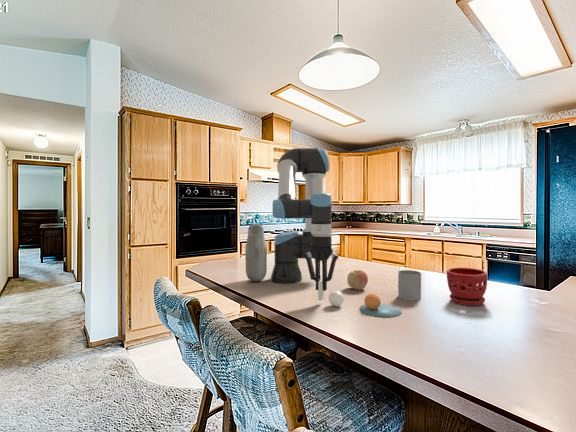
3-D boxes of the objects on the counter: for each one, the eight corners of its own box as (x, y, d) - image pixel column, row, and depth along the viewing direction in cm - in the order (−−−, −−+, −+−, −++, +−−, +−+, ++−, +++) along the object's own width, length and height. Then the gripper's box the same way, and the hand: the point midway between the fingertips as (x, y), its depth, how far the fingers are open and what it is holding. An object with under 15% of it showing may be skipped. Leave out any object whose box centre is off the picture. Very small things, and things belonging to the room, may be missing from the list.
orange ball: (378, 290, 110) (386, 305, 109) (370, 291, 115) (377, 305, 114) (366, 297, 108) (374, 312, 107) (358, 298, 113) (366, 312, 112)
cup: (422, 301, 120) (423, 275, 120) (400, 299, 122) (400, 274, 122) (418, 295, 129) (418, 270, 128) (397, 294, 130) (397, 269, 130)
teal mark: (351, 308, 112) (351, 307, 112) (379, 301, 119) (379, 301, 119) (380, 320, 100) (380, 319, 100) (410, 312, 107) (410, 312, 107)
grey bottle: (243, 280, 156) (242, 223, 155) (262, 278, 160) (262, 222, 159) (249, 284, 147) (248, 224, 146) (269, 282, 151) (269, 223, 150)
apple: (366, 286, 142) (366, 269, 142) (369, 292, 133) (369, 273, 133) (346, 286, 143) (346, 268, 143) (348, 291, 134) (348, 272, 134)
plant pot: (450, 295, 128) (451, 265, 128) (489, 301, 120) (489, 269, 119) (442, 303, 118) (443, 271, 117) (483, 310, 109) (484, 275, 109)
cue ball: (344, 290, 113) (348, 305, 112) (338, 288, 118) (341, 302, 118) (330, 294, 111) (334, 309, 111) (324, 292, 117) (328, 307, 116)
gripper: (301, 235, 115) (301, 300, 116) (336, 236, 110) (336, 303, 111) (307, 234, 122) (307, 294, 123) (340, 235, 117) (340, 298, 118)
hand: (321, 299), depth 117 cm, fingers closed
